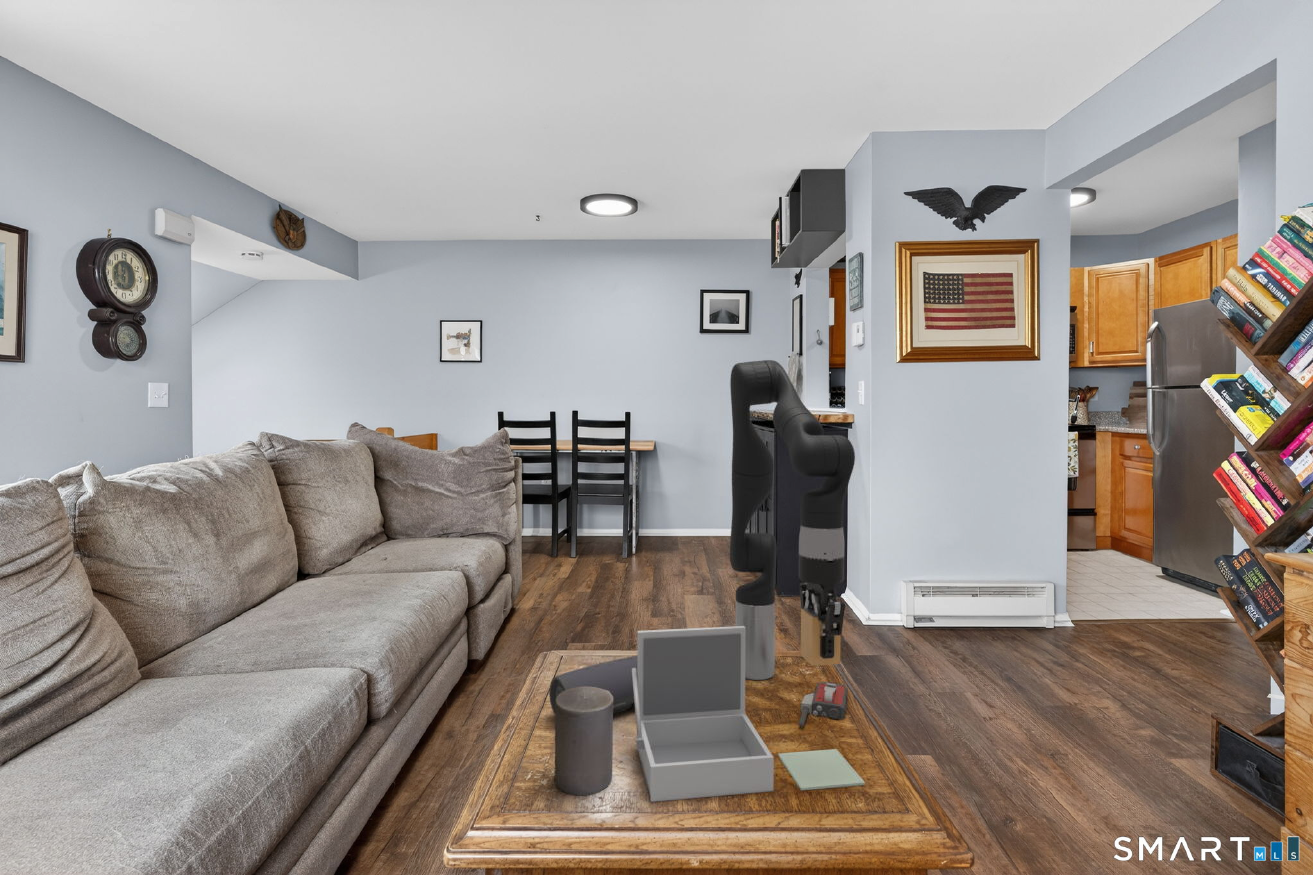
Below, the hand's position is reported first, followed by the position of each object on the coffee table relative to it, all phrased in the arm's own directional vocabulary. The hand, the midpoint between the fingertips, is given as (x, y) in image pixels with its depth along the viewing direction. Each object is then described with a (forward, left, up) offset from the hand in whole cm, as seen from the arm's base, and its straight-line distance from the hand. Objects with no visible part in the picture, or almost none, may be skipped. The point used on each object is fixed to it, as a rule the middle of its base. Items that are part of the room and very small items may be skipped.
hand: (820, 651), depth 111 cm
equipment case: (-4, -21, -20) cm, 29 cm away
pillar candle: (-3, -40, -21) cm, 45 cm away
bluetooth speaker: (-28, -34, -21) cm, 49 cm away
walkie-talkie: (-21, +10, -21) cm, 32 cm away
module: (0, 0, -1) cm, 1 cm away
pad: (0, 0, -20) cm, 20 cm away
